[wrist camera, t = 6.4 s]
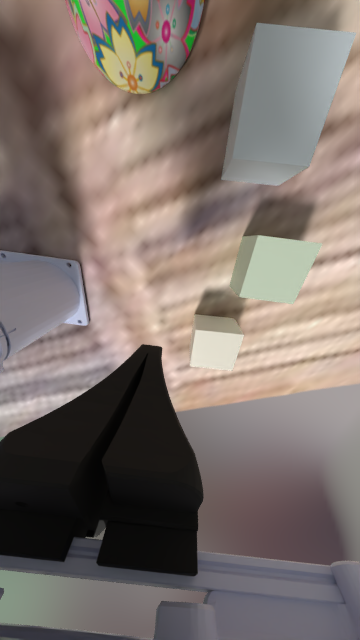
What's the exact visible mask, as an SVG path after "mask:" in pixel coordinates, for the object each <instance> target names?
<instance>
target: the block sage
mask: <svg viewBox="0 0 360 640" xmlns="http://www.w3.org/2000/svg"><path fill="white" fill-rule="evenodd" d="M321 246H322V243H314V242H307V241H299V240H291V239H284V238H276V237H269V236H261V235H254V236H243V237H242V240H241V244H240V248H239V252H238V256H237V259H236V263H235V267H234V271H233V274H232V278H231V282H230V287H231V289H232V290H233V291H234V292H235V293H236V294H237V295H238V296H239V297H242V298H250V299H258V300H266V301H273V302H281V303H289V304H293V303H294V301H295V299H296V297H297V295H298V293H299V291H300V289H301V287H302V285H303V283H304V281H305V279H306V277H307V275H308V272H309V270H310V268H311V266H312V264H313V262H314V260H315V258H316V256H317V254H318V252H319V250H320V248H321Z"/></svg>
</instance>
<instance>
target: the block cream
mask: <svg viewBox="0 0 360 640" xmlns="http://www.w3.org/2000/svg"><path fill="white" fill-rule="evenodd" d="M243 337H244V334H243V332H242V331H241V329H240V327H239V325H238V324H237V322H236V320H235V319H234V318H227V317H217V316H207V315H198V314H194V320H193V327H192V334H191V340H190V366H191V367H201V368H210V369H220V370H229V371H232V370H233V367H234V364H235V361H236V358H237V355H238V352H239V349H240V346H241V343H242V340H243Z"/></svg>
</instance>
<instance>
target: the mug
mask: <svg viewBox="0 0 360 640" xmlns="http://www.w3.org/2000/svg"><path fill="white" fill-rule="evenodd" d="M65 1H66V5H67V8H68V11H69V14H70V17H71V20H72V23H73V26H74V28H75V31H76V33H77V35H78V38H79V40H80V42H81V44H82V46H83V48H84V50H85V51H86V53H87V55H88V56H89V58H90V59H91V61H92V62H93V64H94V65H95V66H96V68H97V69H98V70H99V71H100V72H101V73H102V75H103V76H104V77H105V78H106V79H107V80H109V81H110V82H111V83H112V84H114V85H115V86H117V87H118V88H120V89H122V90H124V91H127V92H130V93H134V94H147V93H151V92H154V91H156V90H159V89H160V88H162V87H164V86H165V85H166V84H167V83H169V82H170V81H171V80H172V79H173V78H174V77H175V76H176V74H177V73H178V72H179V71H180V69H181V68H182V66H183V65H184V63H185V61H186V59H187V57H188V56H189V53H190V51H191V49H192V47H193V44H194V41H195V39H196V36H197V32H198V29H199V25H200V21H201V17H202V13H203V7H204V2H205V0H65Z"/></svg>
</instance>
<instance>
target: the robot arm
mask: <svg viewBox="0 0 360 640" xmlns="http://www.w3.org/2000/svg"><path fill="white" fill-rule="evenodd" d="M5 255H6V256H5ZM69 263H70V264H71V266H69ZM80 320H81V321H82V322H81V321H80ZM62 323H69V324H77V325H87V324H89V318H88V312H87V305H86V299H85V293H84V287H83V281H82V275H81V268H80V264H79V263H78V262H77V261H75V260H69V259H61V258H54V257H47V256H40V255H32V254H25V253H18V252H10V251H3V250H0V373H1V372H2V371H4V368H3V361H4V360H6V359H7V358H9V357H10V356H12V355H13V354H15V353H17V352H18V351H20V350H21V349H23V348H24V347H26V346H27V345H29V344H31V343H32V342H34V341H35V340H37V339H38V338H40V337H41V336H43V335H44V334H46V333H48V332H49V331H51V330H52V329H54V328H55V327H57V326H58V325H60V324H62ZM161 357H162V347H159V346H152V345H144V344H143V345H141V346H140V347H139V348H138V349H137V350H136V352H135V353H134V354H133V355H132V356H131V357H129V358H128V359H127V360H126V361H125V362H124V363H123V364H122V365H121V366H120V367H118V368H117V369H116V370H115V371H114V372H113V373H111V374H110V375H109V376H108V377H106V378H105V379H104V380H102V381H101V382H100V383H98V384H97V385H95V386H94V387H92V388H91V389H89V390H88V391H86V392H85V393H83V394H82V395H80V396H79V397H77V398H75V399H74V400H72V401H70V402H68V403H67V404H65V405H63V406H61V407H60V408H58V409H56V410H54V411H52V412H50V413H48V414H47V415H45V416H43V417H41V418H39V419H36V420H34V421H32V422H30V423H28V424H26V425H24V426H22V427H20V428H18V429H16V430H14V431H11V432H9V433H8V434H7V435H6V436H5V437H4V438H3V439H2V440H1V441H0V570H8V571H17V572H26V573H35V574H44V575H53V576H63V577H72V578H81V579H90V580H100V581H108V582H117V583H126V584H136V585H145V586H154V587H163V588H173V589H181V590H190V591H191V590H192V591H200V592H209V593H207V595H206V596H205V598H204V602H203V604H199V603H186V602H185V603H184V602H167V601H161V603H160V605H159V606H158V608H157V612H156V623H155V624H156V625H155V634H154V639H150V638H142V637H134V636H126V635H118V634H109V633H100V632H92V631H82V630H72V629H62V628H52V627H41V626H30V625H19V624H8V623H0V640H360V562H356V561H339V562H335V563H332V564H331V566H327V565H318V564H309V563H300V562H292V561H283V560H273V559H265V558H256V557H247V556H239V555H230V554H221V553H211V552H202V551H197V531H198V509H199V507H200V505H201V503H202V502H203V487H202V481H201V476H200V472H199V468H198V464H197V461H196V457H195V453H194V451H193V449H192V447H191V445H190V443H189V442H188V439H187V438H186V436H185V434H184V431H183V429H182V427H181V425H180V423H179V420H178V418H177V415H176V413H175V410H174V408H173V405H172V403H171V400H170V397H169V394H168V390H167V387H166V383H165V379H164V374H163V368H162V360H161ZM105 528H106V530H105V534H104V537H103V540H97V539H87V538H85V537H94V536H95V537H97V536H98V535H99V534H100V533H101V532H102V531H103V530H104V529H105ZM3 593H4V589H3V588H0V599H1V597H2V595H3Z"/></svg>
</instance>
